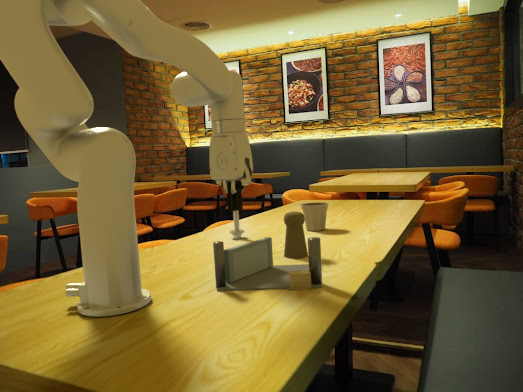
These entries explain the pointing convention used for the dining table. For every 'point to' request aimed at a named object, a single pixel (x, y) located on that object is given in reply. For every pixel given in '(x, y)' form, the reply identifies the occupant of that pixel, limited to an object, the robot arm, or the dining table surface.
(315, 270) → the stile
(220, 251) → the hinge post
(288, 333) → the dining table surface
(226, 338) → the dining table surface
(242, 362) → the dining table surface
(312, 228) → the flower pot
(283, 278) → the mat
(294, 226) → the cork
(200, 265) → the dining table surface
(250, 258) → the gate
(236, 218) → the screw
